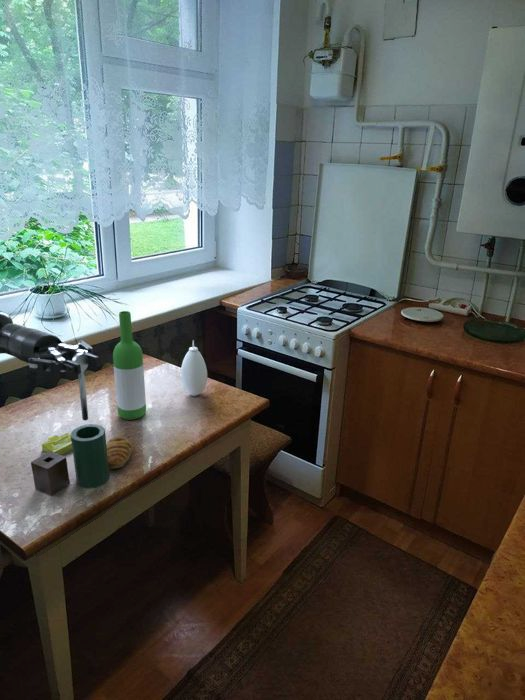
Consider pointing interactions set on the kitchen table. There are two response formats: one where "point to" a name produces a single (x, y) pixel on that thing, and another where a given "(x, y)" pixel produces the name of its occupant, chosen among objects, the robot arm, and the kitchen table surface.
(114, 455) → the pastry
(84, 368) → the spoon
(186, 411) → the kitchen table surface
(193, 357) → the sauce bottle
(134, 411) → the wine bottle
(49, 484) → the spoon stand
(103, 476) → the green hollow tube
